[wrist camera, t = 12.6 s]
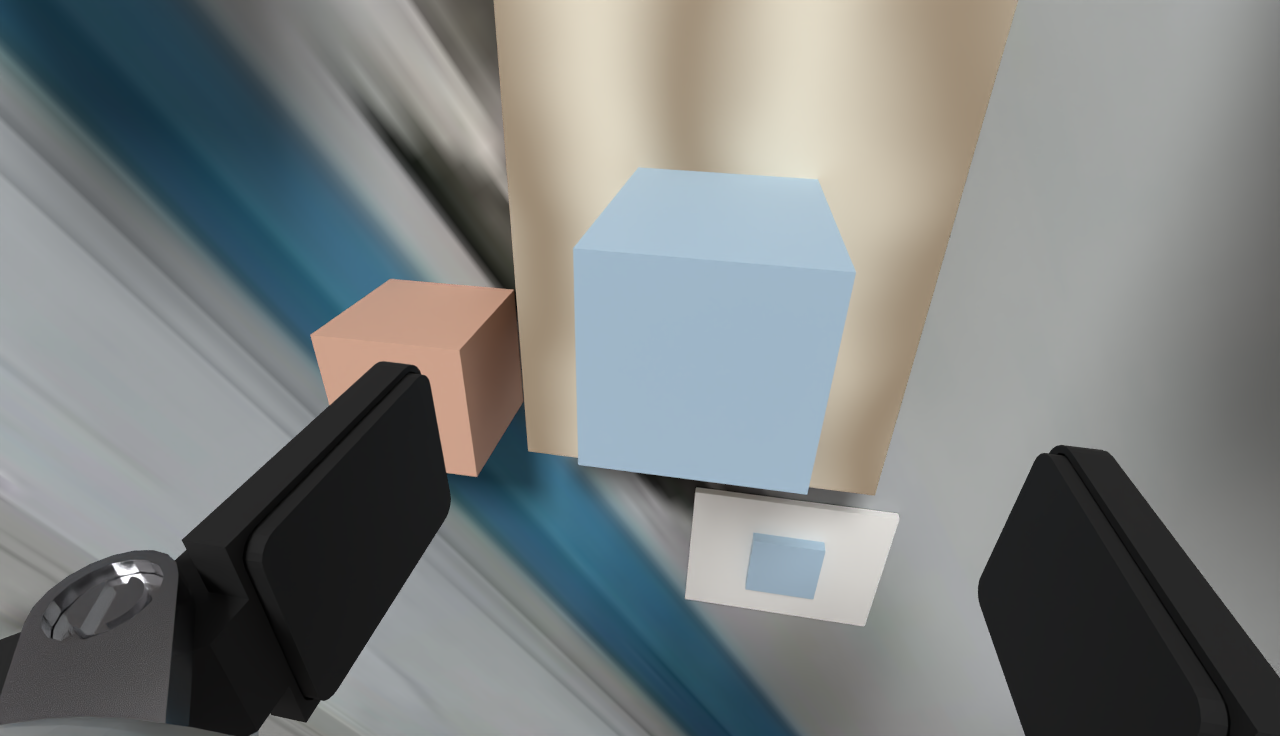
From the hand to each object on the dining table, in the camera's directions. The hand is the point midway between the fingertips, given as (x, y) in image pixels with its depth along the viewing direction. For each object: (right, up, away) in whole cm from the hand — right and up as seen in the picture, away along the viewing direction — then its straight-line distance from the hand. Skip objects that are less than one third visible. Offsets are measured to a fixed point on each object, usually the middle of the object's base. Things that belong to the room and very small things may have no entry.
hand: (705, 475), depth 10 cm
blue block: (+1, +5, +10) cm, 12 cm away
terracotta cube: (-10, +3, +20) cm, 22 cm away
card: (+7, -8, +23) cm, 25 cm away
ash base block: (+2, +8, +15) cm, 17 cm away
